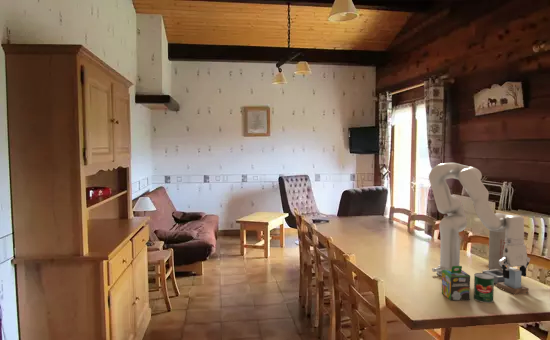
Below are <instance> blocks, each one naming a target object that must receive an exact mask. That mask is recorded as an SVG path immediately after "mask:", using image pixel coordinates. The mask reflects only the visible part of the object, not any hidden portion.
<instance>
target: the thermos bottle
mask: <svg viewBox="0 0 550 340" xmlns="http://www.w3.org/2000/svg"><path fill="white" fill-rule="evenodd" d="M488 230H489V229H488ZM505 240H506V228H501V229H498V230H495V231H492V230H489V233H488V263H487V264H488V266H487V267H488V268H489V269H490V270H494V269H499V270H501V271H503V269H502V268H501V267H500V264H499V260H501V259H502V258H503V252H504V246H505V244H506V243H505ZM503 264H504V263H503ZM488 268H487V269H488ZM489 269H488V270H489Z"/></svg>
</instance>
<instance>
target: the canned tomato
mask: <svg viewBox="0 0 550 340" xmlns="http://www.w3.org/2000/svg"><path fill="white" fill-rule="evenodd" d="M473 280H474V283H473V299H474V300H475V301H477V302H480V303H484V304H485V303H486V304H490V303H493V302H494V293H495V292H494V290H495V289H494V288H495V284H494V276H492V275H490V274H486V273H482V272H475V273H474V279H473Z"/></svg>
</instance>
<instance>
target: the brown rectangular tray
mask: <svg viewBox="0 0 550 340" xmlns="http://www.w3.org/2000/svg"><path fill="white" fill-rule="evenodd" d="M504 283H505V282H500V283H497V285H496V287H497V288H498V287H499V288H498V289H500V288H502V289H501V290H503V289H504V290H503V291H505V290H506V291H505V292H507V291H508V292H507V293H510V292H511V293H510V294H512V293H513V294H512V295H514V294H515V295H520V294H519V293H524V294H527V293H526V292H528V293H529V287H526V286H525V285H524V286H523V285H521V288H517V289H514V288H512V287H510V286H507V285H505V284H504Z"/></svg>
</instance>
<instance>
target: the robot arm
mask: <svg viewBox="0 0 550 340" xmlns="http://www.w3.org/2000/svg"><path fill="white" fill-rule="evenodd" d="M482 175H483V174H482V172H481V170H480V169H478V168H476V167H474V166H468V165H464V164H460V163H457V162H444V163H443V162H442V163H439V164H437V165H435V166H434V167H433V168H432V169H431V171H430V172H429V176H428V177H429V179H428V180H429V183H430V186H431V190H432V194H433V197H434V203H435V204H436V205H435V206H436V209H437V211H438V212H439V213H440V214H443V215H446V214H447V216H445V217H443V218H441V220H440V221H439V224H438V225H439V226H438V229H439V234H440V235H439V236H440V247H439V248H440V252H439V255H440V256H439V259H440V260H439V264H438V266H437V267H433V268H431V270H432V272H433V273H434V272H436V274H437V275H438V276H440V277H442V270H451V269H452V266H461V265H460V259H461V256H460V255H461V238H460V234H459V233H460V232H463V231H464V230H465V229H467V227H468V221H467V220H468V219H467V215H466V212H465V209H464V205H463V202H462V200H461V199H460V198H459V196H456V195H455V194H452V193H451V190H450V186H449V185H448V182H447V180H449V179H455V180H458V181H459V183H460V184H461V186H462V187H463V189H464V191H466V193H467V194H468V196H469V197H470V199H471V201H472V206H473V208H474V211H475V214H476V215H477V217H478V219H479V221H480V222H481V224H482V225H483V226H484V227H485V228H486V229H487V230H492V231H495V230H498V229H501V228H505V231H506V240H505V243H506V244H505V246H504V252H503V258H502V259H501V260H499V264H500V267H501V268H502V269H503V277H504V278H507V279H509V270H508V269H509V268H510V267H513V268H516V267H519V270H520V271H522V274H521V277H525V278H526V277H527V269H528V266H529V264H530V261H531V257H528V251H527V246H526V244H525V218H524V217H523V216H521V215H515V214H507V213H503V212H502V213H501V212H496V213H495V212H494V211H493V209H492V207H491V204H489V195H490V193H489V191H488V189H487V188H486V186H485V185H484V183H483V182H482V181H481V180H482V178H483V177H482ZM503 263H504V264H503ZM455 269H459V268H455Z"/></svg>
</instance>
